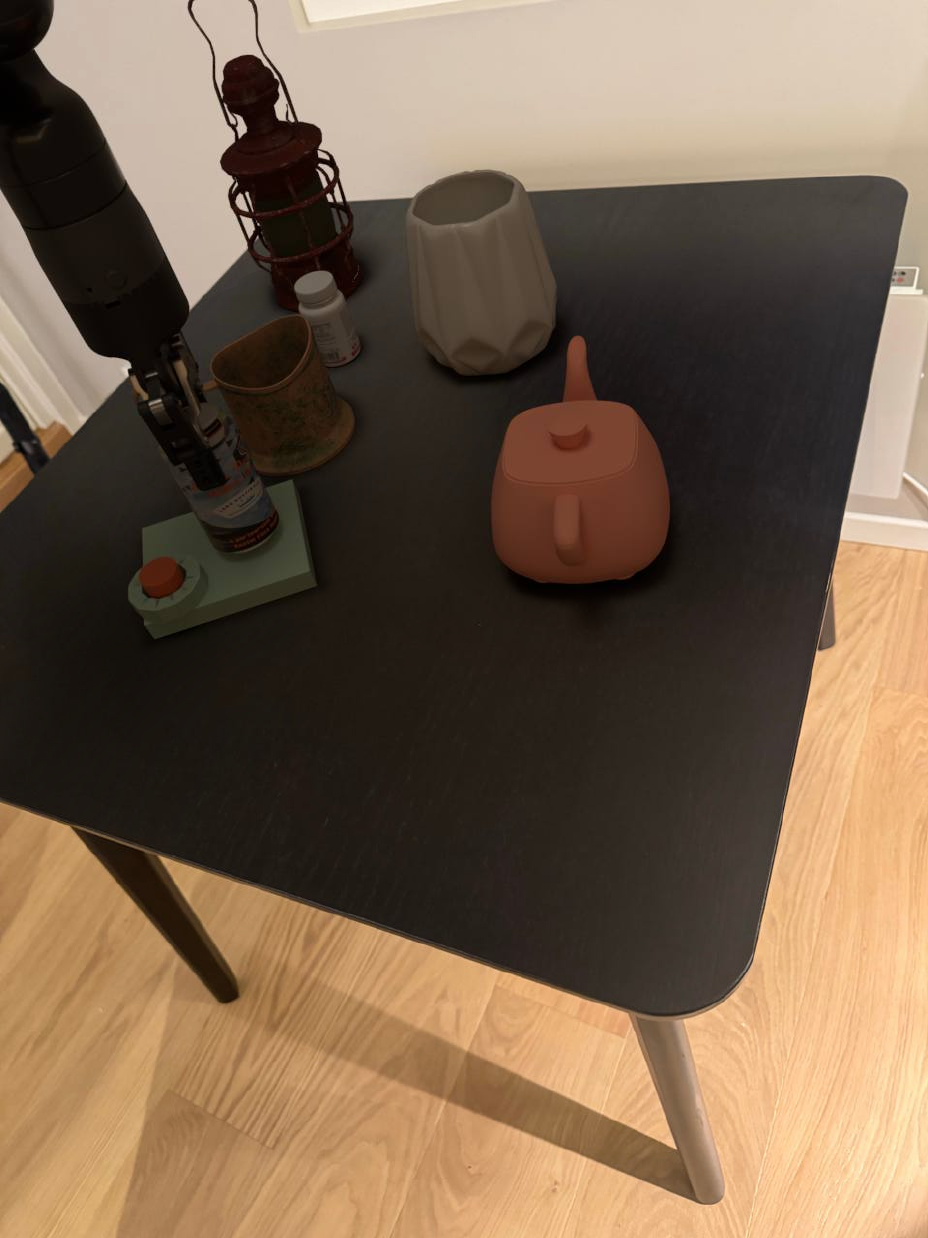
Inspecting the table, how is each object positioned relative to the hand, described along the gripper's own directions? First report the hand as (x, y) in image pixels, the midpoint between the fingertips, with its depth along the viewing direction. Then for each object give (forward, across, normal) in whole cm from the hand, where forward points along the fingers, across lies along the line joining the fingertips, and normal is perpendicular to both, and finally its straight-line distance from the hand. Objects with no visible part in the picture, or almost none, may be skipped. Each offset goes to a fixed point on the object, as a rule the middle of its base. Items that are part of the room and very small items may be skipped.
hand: (210, 459), depth 74 cm
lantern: (+10, -40, +12) cm, 42 cm away
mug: (+10, -13, +3) cm, 16 cm away
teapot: (+10, +11, +26) cm, 30 cm away
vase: (+10, -18, +27) cm, 33 cm away
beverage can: (+8, +1, 0) cm, 8 cm away
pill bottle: (+10, -25, +12) cm, 29 cm away
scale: (+10, +1, -2) cm, 10 cm away
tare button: (+7, +5, -7) cm, 11 cm away
